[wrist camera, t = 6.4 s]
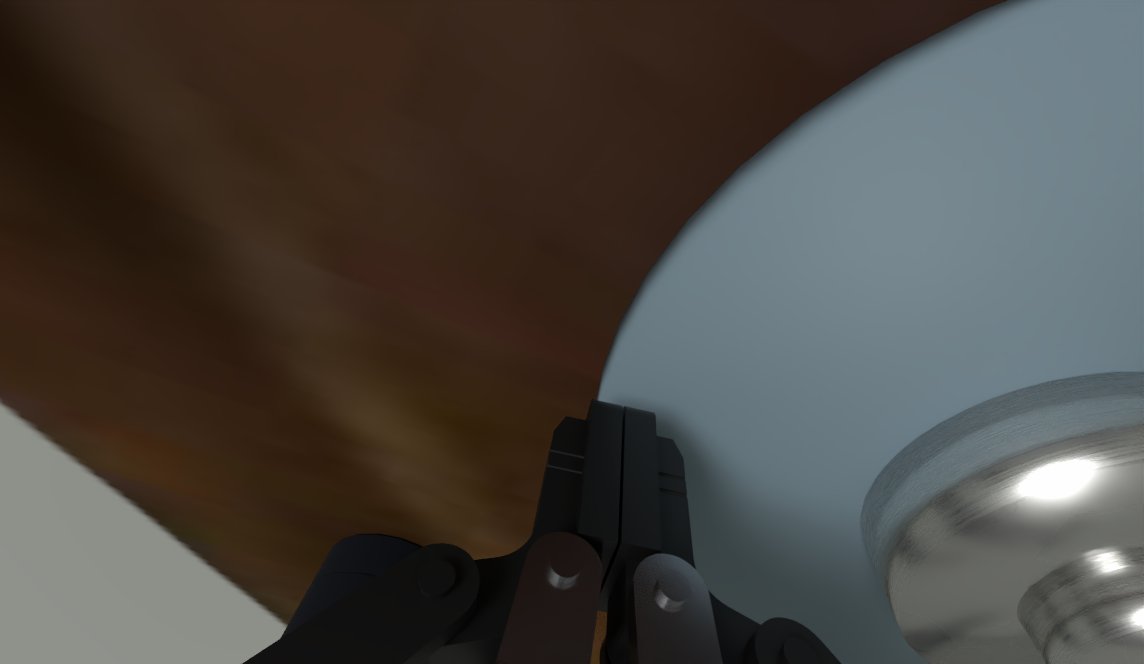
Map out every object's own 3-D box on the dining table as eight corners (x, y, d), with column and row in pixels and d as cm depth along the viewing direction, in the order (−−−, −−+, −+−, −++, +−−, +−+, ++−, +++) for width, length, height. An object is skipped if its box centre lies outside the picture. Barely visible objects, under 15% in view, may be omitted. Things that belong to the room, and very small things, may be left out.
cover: (1006, 326, 11) (1178, 473, 7) (1395, 430, 11) (1733, 617, 7) (801, 561, 15) (847, 713, 12) (1072, 628, 16) (1189, 794, 12)
